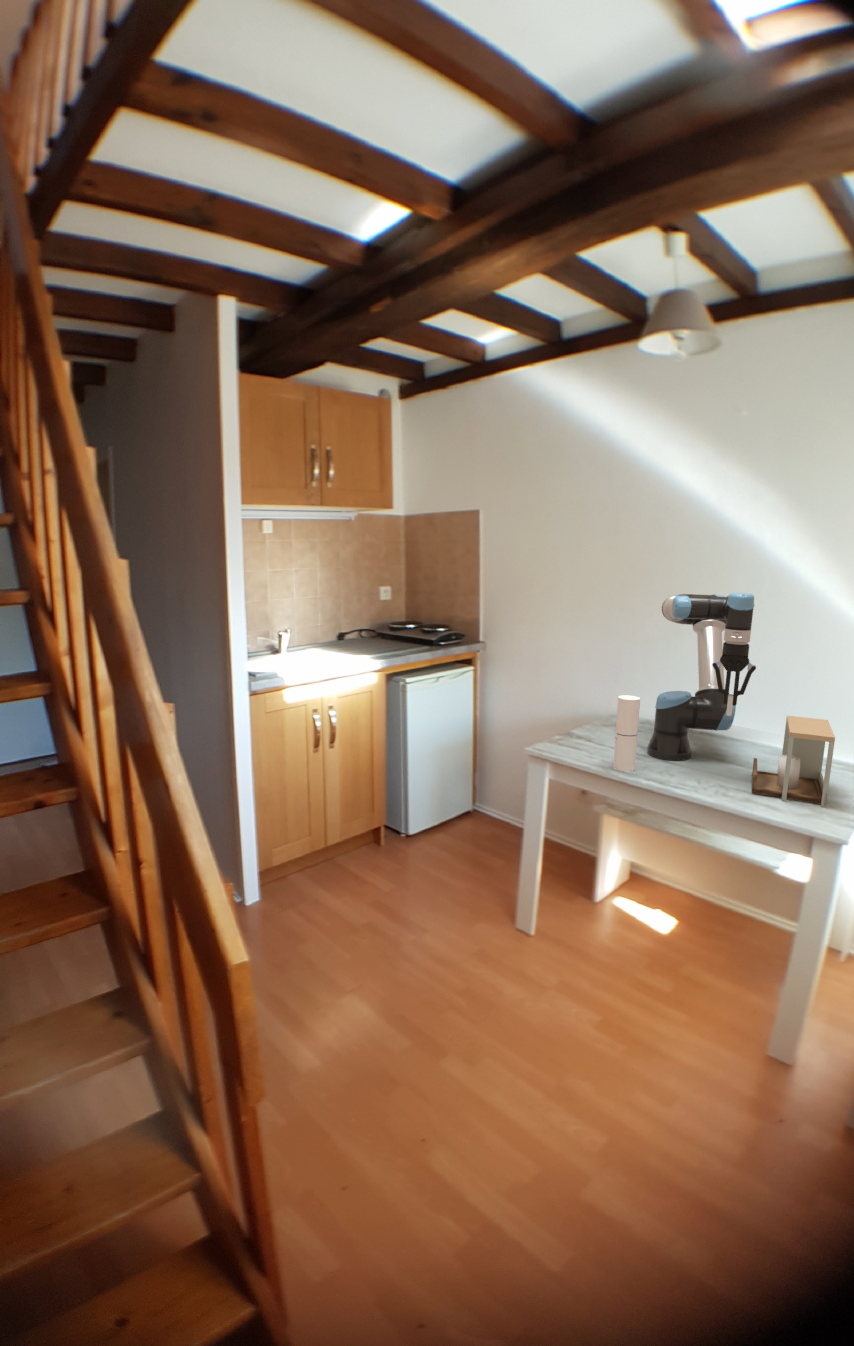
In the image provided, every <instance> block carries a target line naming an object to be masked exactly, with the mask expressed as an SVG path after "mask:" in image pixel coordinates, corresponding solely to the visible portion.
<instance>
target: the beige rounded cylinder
mask: <svg viewBox="0 0 854 1346" xmlns="http://www.w3.org/2000/svg"><path fill="white" fill-rule="evenodd" d="M786 758H787V755H782V754H781V755H779V756H778V762H777V764H778V765H777V774H778V775H777V785H778V786H780V787H783V783H784V775H785V766H786ZM800 760H801V759H800V758H799V757H796V756H792V757H791V766H790V774H789V782H788V788H789V789H794V788H798V785H799V773H800Z"/></svg>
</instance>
